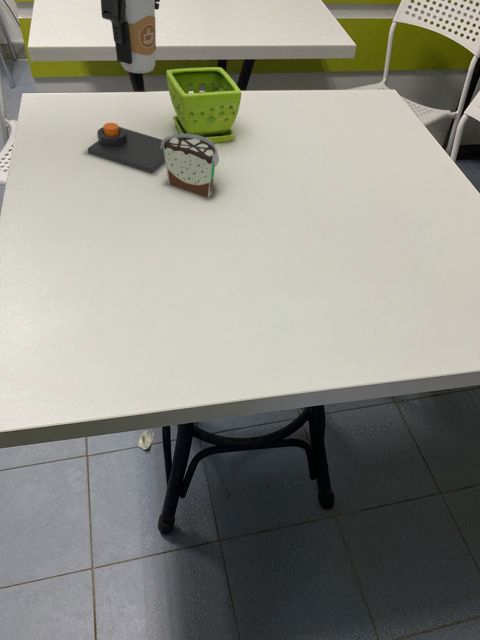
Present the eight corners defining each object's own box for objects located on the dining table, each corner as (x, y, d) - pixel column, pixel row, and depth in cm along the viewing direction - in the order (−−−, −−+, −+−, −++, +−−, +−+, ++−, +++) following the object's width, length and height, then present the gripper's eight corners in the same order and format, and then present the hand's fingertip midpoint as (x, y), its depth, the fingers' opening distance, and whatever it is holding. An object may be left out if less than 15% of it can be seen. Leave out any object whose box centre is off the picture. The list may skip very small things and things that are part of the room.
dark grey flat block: (86, 155, 109) (83, 139, 106) (117, 132, 116) (115, 118, 114) (152, 175, 106) (150, 160, 103) (179, 151, 113) (178, 137, 110)
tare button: (101, 134, 109) (100, 127, 107) (109, 129, 111) (108, 121, 109) (114, 138, 108) (112, 130, 107) (122, 132, 110) (121, 125, 109)
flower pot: (183, 152, 113) (181, 95, 103) (167, 124, 121) (164, 68, 111) (240, 146, 117) (243, 90, 108) (221, 119, 125) (222, 65, 116)
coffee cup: (137, 79, 90) (127, -20, 79) (106, 65, 93) (92, -32, 82) (169, 68, 95) (165, -27, 84) (139, 55, 98) (130, -39, 86)
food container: (228, 188, 105) (230, 143, 97) (214, 202, 101) (215, 156, 94) (178, 171, 108) (176, 126, 100) (163, 184, 104) (159, 138, 96)
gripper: (102, -98, 68) (123, 77, 85) (176, -112, 81) (181, 43, 98) (57, -107, 70) (87, 67, 87) (136, -120, 82) (148, 35, 100)
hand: (137, 54), depth 93 cm, fingers closed on coffee cup, 8 cm apart
